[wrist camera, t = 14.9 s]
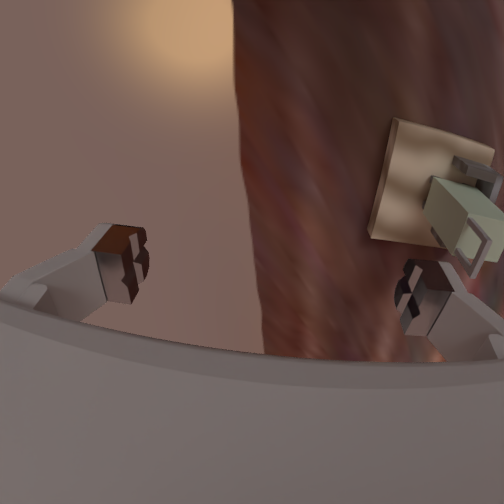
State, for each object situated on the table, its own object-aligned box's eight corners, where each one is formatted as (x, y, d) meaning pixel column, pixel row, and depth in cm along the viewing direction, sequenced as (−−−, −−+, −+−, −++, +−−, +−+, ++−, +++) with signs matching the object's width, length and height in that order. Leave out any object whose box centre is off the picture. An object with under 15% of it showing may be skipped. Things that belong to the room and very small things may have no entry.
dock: (392, 117, 34) (411, 128, 29) (485, 144, 34) (511, 160, 28) (366, 228, 43) (377, 255, 38) (453, 241, 43) (470, 266, 37)
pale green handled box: (428, 172, 35) (488, 236, 22) (470, 182, 35) (534, 245, 22) (418, 207, 38) (467, 281, 25) (459, 215, 38) (513, 286, 25)
